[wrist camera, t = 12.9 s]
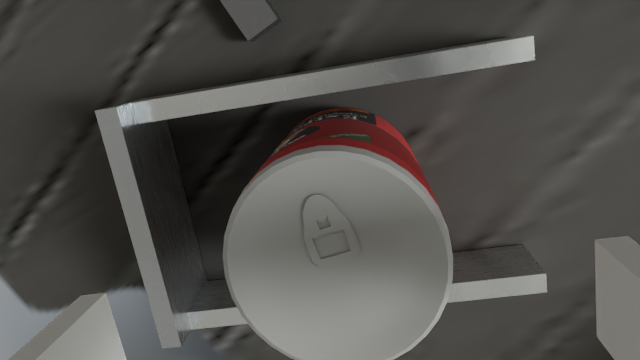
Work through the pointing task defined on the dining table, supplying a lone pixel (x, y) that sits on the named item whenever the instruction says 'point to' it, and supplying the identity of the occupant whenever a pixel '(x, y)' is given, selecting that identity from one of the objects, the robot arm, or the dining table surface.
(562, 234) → the dining table surface
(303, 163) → the canned food
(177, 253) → the channel
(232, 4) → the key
